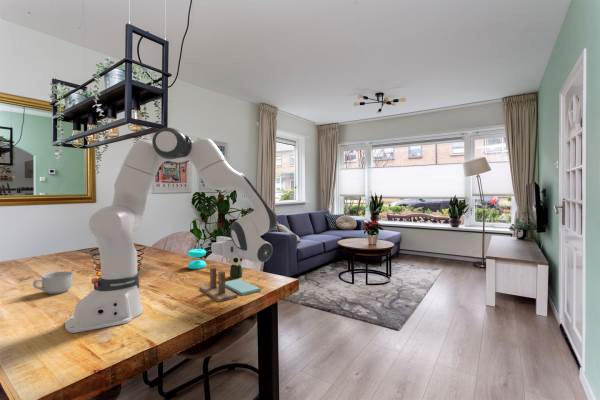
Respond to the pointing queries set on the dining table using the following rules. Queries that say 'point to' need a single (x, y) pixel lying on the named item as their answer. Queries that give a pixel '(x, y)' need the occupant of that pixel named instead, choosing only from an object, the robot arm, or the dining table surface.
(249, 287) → the board
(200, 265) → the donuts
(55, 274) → the teacup
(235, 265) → the character mug
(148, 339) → the dining table surface
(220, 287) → the stand
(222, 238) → the rail
